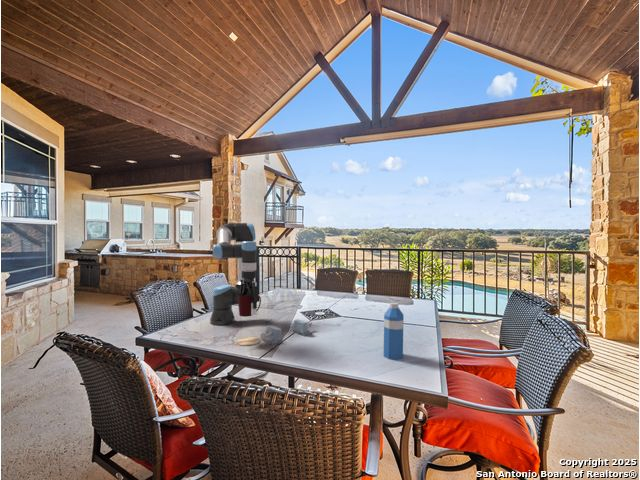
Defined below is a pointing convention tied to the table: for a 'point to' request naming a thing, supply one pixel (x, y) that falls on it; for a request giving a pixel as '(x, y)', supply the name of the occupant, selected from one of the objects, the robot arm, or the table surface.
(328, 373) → the table surface
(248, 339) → the coaster
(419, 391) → the table surface
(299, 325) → the vise
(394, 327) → the water bottle
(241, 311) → the mug
